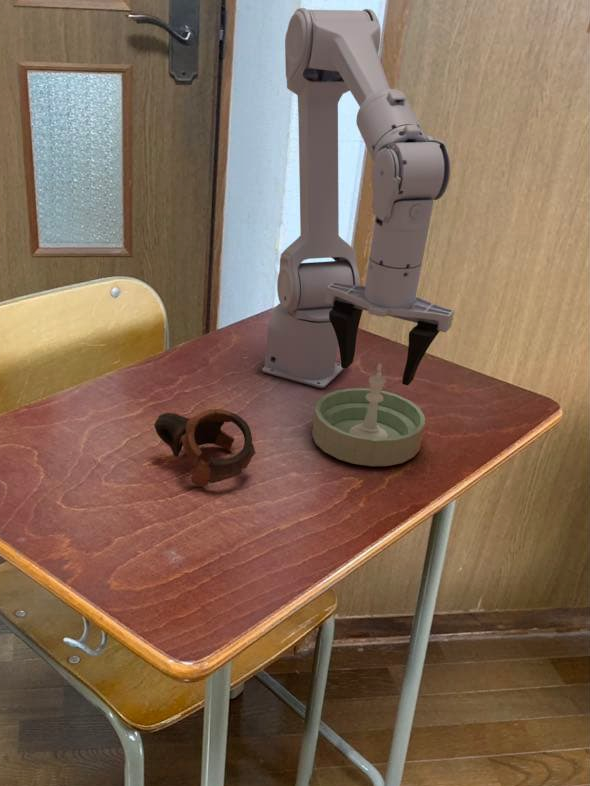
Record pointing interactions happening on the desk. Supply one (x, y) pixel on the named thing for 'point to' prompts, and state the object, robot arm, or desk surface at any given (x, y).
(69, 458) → the desk surface
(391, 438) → the bowl
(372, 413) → the chess piece
